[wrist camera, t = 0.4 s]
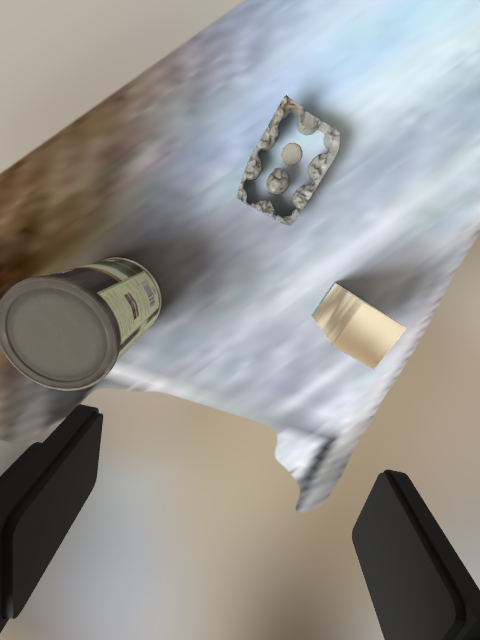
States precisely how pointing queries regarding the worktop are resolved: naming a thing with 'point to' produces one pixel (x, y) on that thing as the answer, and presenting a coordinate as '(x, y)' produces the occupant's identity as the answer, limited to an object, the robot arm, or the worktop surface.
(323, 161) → the egg carton
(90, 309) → the coffee can
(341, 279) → the worktop surface
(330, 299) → the maple block
